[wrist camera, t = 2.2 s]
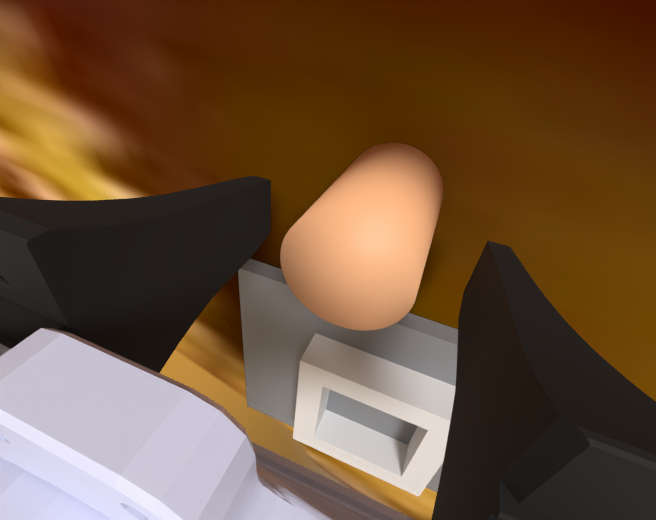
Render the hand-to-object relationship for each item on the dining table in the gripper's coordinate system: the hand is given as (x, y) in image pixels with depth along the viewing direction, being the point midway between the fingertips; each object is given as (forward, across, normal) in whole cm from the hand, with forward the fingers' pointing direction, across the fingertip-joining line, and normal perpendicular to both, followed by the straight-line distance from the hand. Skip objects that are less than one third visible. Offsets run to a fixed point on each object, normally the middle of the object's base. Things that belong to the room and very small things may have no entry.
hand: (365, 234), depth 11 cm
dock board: (+4, -2, +13) cm, 14 cm away
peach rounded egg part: (+4, 0, 0) cm, 4 cm away
